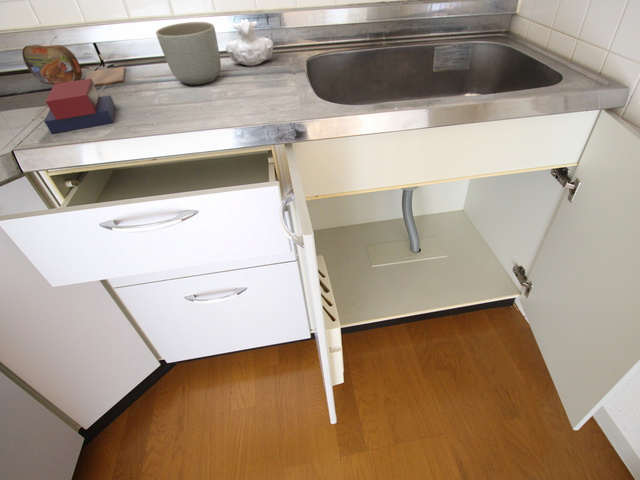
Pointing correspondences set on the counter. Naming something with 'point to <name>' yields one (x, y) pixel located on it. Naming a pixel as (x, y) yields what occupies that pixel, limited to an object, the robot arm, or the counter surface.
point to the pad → (106, 76)
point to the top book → (73, 99)
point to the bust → (249, 45)
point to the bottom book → (84, 118)
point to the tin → (52, 63)
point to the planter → (191, 51)
